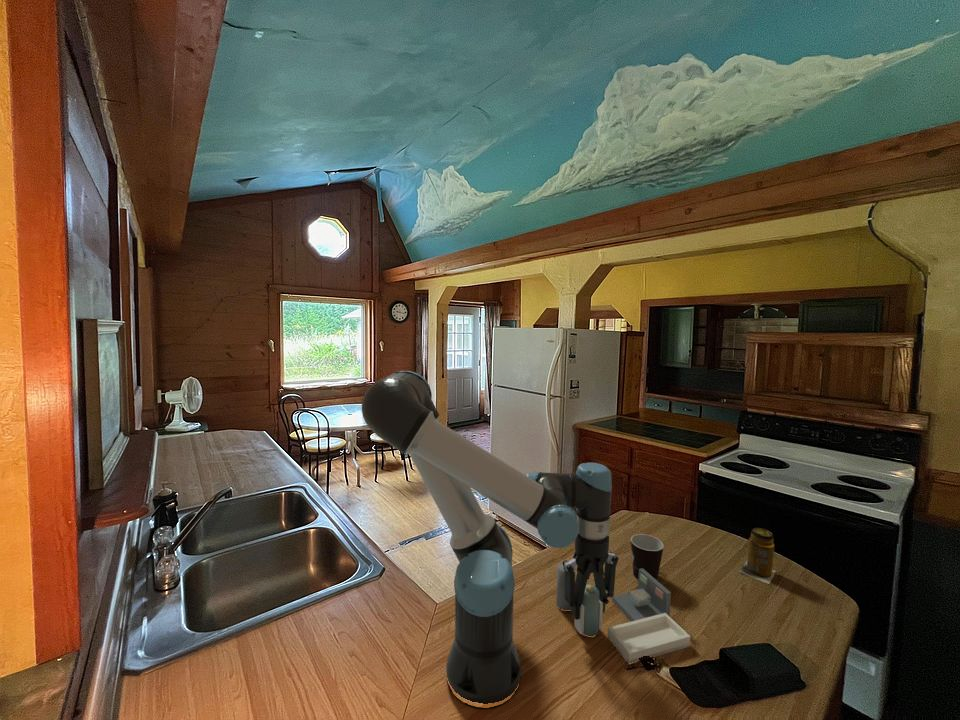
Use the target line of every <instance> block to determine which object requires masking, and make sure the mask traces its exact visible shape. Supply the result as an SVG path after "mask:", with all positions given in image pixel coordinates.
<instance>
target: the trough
mask: <svg viewBox="0 0 960 720" xmlns="http://www.w3.org/2000/svg"><path fill="white" fill-rule="evenodd" d="M608 638H609V639H608ZM607 639H608V640H609V642H610V641H611V642H612V643H613V644H612V643H611V642H610V643H611V644H612V645H613V647H614V648H615V647H616V648H615V650H617V652H618V653H619V654H620V655H621V656H622V658H623V659H624V661H626V663H627V662H628V663H632V662H635V661H637V660H638V659H639V658H641V657H643V656H654V657H653V658H655V657H660V656H662V655H666V654H669V653H673V652H676V651H680V650H683V649H686V648H690V647H691V635H690V634H689V633H688V632H686V630H685V629H684V628H682V627H681V625H679V624H678V623H677V622H676V621H675V620H674V619H673V618H672V617H669V616H668V615H667V614H666V613H663V614H659V615H655V616H651V617H647V618H643V619H639V620H636V621H632V622H631V621H628V622H624V623H621V624H617V625H613V626H609V627H607ZM628 663H627V664H628Z"/></svg>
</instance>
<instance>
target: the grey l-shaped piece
mask: <svg viewBox="0 0 960 720" xmlns="http://www.w3.org/2000/svg"><path fill="white" fill-rule="evenodd" d="M637 581H638V582H637V590H638V589H644V590H645V591H646V592H647V593H648V594H649V595H650V596H651V604H649V605H645V606H641V607H638V606H637V605H636V604H635V603H634V602H633V601H632V600H631V599H630V592H626V593H621V594H617V595H614V596H613V597H612V598H611V601H612V602H613V604H615V606H616V607H617V606H618V607H617V608H618V609H619V610H620V611H621V612H622V613H623V614H624V615H625V616H626V617H627V619H628V620H630V621H629V622H632V621H636V620H639V619H643V618H647V617H651V616H655V615H659V614H663V613H666V614H667V615H668V616H669V617H670V614H671V602H672V601H671V600H672V592H671V591H670V590H669V589H668V588H666V586H664V585H663V584H662V583H660V582H659V581H658V579H657V580H656V579H655V578H653V577H652V576H651V575H650V574H649V573H648V572H646V571H645V570H644V569H643V568H642V569H639V577H638V579H637ZM670 618H671V617H670Z"/></svg>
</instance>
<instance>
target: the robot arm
mask: <svg viewBox="0 0 960 720" xmlns="http://www.w3.org/2000/svg"><path fill="white" fill-rule="evenodd" d="M430 386H431V385H430V384H429V382H428V381H427V380H426V379H425V377H424V376H422V375H420V374H419V373H417V372H416V371H415V372H414V371H411V370H400V371H395V372H393V373H389V375H387V376H385V377H384V378H382V379H379V380H377V381H375V382H374V383H373V384H372V385H370V387H368V389H367V390H366V391H365V393H364V396H363V399H362V402H361V413H362V418H363V420H364V422H365V424H366V425H367V427H368V429H370V430H371V432H372V433H374V434H375V435H376V436H377V437H379V439H381V440H383V441H384V442H385V443H387V444H388V445H390V446H392V447H393V448H394V449H396V450H398V451H399V452H402V453H403V454H404V455H409V456H410V459H411V460H412V462H413V464H414V465H415V467H416V470H417V471H418V472H419V475H420V477H421V478H422V480H423V483H424V484H425V486H426V488H427V490H428V491H429V494H430V495H431V498H432V499H433V502H434V503H435V506H437V508H438V511H439V512H440V514H441V516H442V518H443V520H444V522H445V523H446V525H447V527H448V529H449V531H450V533H451V537H450V539H449V546H450V548H451V549H452V551H453V552H454V555H455V557H456V559H457V560H458V564H457V566H456V569H455V576H454V580H453V581H454V583H453V588H454V594H455V597H454V603H455V604H454V607H455V608H454V640H453V643H452V646H451V647H450V651H449V654H448V656H447V661H446V667H445V669H446V672H447V678H448V681H449V683H450V685H451V686H452V688H453V689H454V691H455V692H456V693H458V694H459V695H460V696H461V697H463V698H465V699H467V700H470V701H472V702H478V703H483V704H488V703H495V702H499V701H502V700H504V699H505V698H507V697H508V696H510V695H511V694H512V693H513V692H514V691H515V689H516V688H517V686H518V684H519V681H520V682H521V680H520V677H521V675H522V672H521V671H522V669H521V668H522V667H521V659H520V656H519V654H518V653H519V652H518V649H516V645H515V641H514V639H513V638H514V637H513V635H514V633H513V632H514V592H515V585H516V584H515V576H514V571H513V570H514V569H513V554H514V553H513V552H514V551H513V547H512V542H511V540H510V539H511V538H510V536H509V534H508V533H507V531H506V530H505V529H504V528H503V527H502V526H501V525H499V524H497V522H496V520H495V518H494V516H492V515H490V514H486V513H484V510H483V509H482V507H481V505H480V504H479V501H478V499H477V497H476V496H475V494H474V492H473V490H474V491H475V492H477V493H478V494H481V495H482V496H483V497H485V498H487V499H488V500H490V501H491V502H493V503H495V504H496V505H498V506H500V507H501V508H503V509H505V510H506V511H508V512H510V513H511V514H512V515H514V516H516V517H518V518H519V519H521V520H522V521H524V522H525V523H527V524H528V525H530V526H532V527H533V528H535V529H536V530H537V532H538V535H539V536H540V539H541V540H542V541H543V542H544V544H546V545H547V546H549V547H551V548H555V549H564V548H566V547H569V546H570V545H573V543H574V549H575V550H574V554H573V556H572V558H571V559H570V560H569V561H568V560H566V559H564V560H563V561H562V563H561V564H563V567H564V569H565V600H566V601H567V603H568V604H569V605H570V606H571V607H572V611H571V614H572V617H573V618H574V624H573V625H574V628H575V629H576V631H577V632H578V633H579V635H580V636H582V634H583V632H584V608H585V607H584V606H583V605H582V601H583V597H584V592H585V588H586V584H588V580H589V579H590V577H591V574H593V580H594V586H595V587H597V588H598V589H599V591H600V594H599V617H598V631H599V630H600V631H601V630H603V629H602V628H603V614H605V612H606V605H607V604H609V602H610V601H609V599H608V598H610V599H612V597H613V596H615V595H614V594H615V584H616V580H615V579H616V569H617V565H618V562H619V557H618V556H617V555H616V554H615V553H614V552H613V551H609V549H610V548H609V545H610V535H609V534H610V524H611V503H612V490H613V488H612V485H613V484H612V471H611V470H610V469H609V468H608V467H607V465H604V464H601V463H598V462H586V463H585V462H584V463H580V464H578V466H577V468H576V471H575V472H572V473H564V472H542V471H538V472H526V473H525V474H524V473H523V472H521V471H519V470H518V469H516V468H515V467H513V466H511V465H510V464H508V463H506V461H503V460H501V459H500V458H498V457H497V456H495V455H493V454H492V453H490V452H489V451H487V450H486V449H484V448H482V447H481V446H479V445H478V444H476V443H474V442H473V441H471V440H469V439H468V438H466V437H464V436H463V435H461V434H460V433H458V432H457V431H455V430H453V429H451V427H448V426H447V425H445V424H443V423H442V422H440V417H441V415H440V414H439V411H438V410H437V407H436V405H435V404H434V402H433V400H432V399H433V397H432V395H433V394H432V390H431V387H430ZM576 566H577V567H576ZM574 572H575V573H574ZM447 678H446V679H447ZM521 678H522V677H521Z"/></svg>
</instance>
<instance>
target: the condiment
mask: <svg viewBox="0 0 960 720" xmlns="http://www.w3.org/2000/svg"><path fill="white" fill-rule="evenodd" d="M750 532H751V533H750V536H749V538H748V546H747V547H748V549H747V559H746V561H745V562H744V564H743V565H742V567H741V568H740V569H739V570H738V571H739V573H741V574H743V575H745V576H747V577H750V578H752V579H755V580H756V581H760V582H762V583H765V584H768V585H770V584H771V581H772V580H773V578H774V577H775V575H776V573H777V571H776V570H774V569H773V566H774V565H773V564H774V553H775V544H774V534H773V532H771V531H770V530H767V529H766V528H760V527H754V528H752V529H751V531H750ZM775 572H776V573H775ZM774 574H775V575H774Z"/></svg>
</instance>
